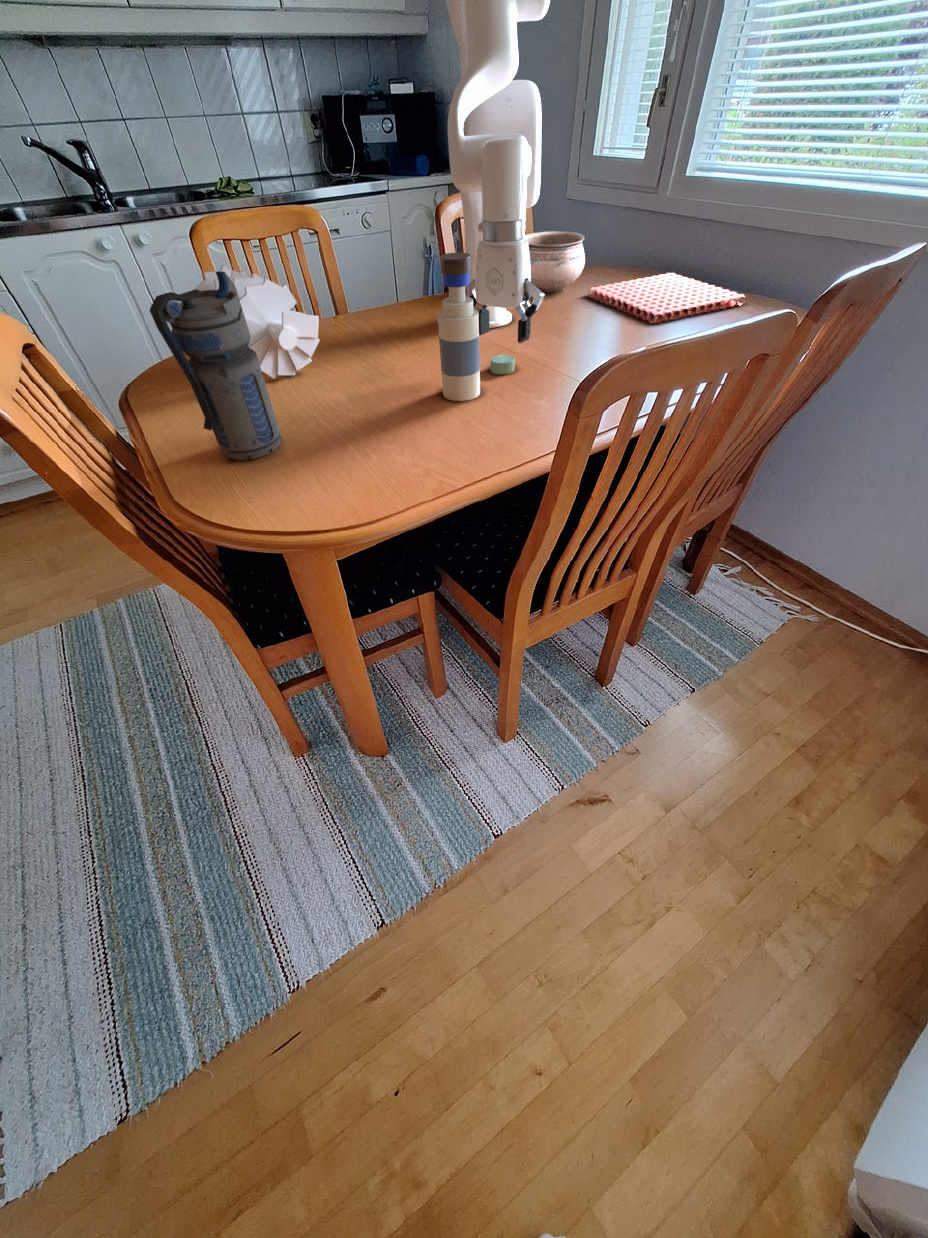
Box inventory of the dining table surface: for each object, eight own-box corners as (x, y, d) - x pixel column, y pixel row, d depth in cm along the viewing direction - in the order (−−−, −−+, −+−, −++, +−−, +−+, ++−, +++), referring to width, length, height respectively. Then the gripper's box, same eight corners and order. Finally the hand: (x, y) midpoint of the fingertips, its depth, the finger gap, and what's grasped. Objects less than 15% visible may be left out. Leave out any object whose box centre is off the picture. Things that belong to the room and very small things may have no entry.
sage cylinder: (486, 367, 111) (486, 356, 110) (508, 363, 112) (508, 352, 111) (496, 376, 108) (496, 364, 106) (518, 371, 109) (518, 360, 108)
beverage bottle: (198, 460, 88) (122, 289, 70) (259, 428, 96) (205, 266, 78) (237, 476, 84) (168, 298, 66) (298, 441, 92) (251, 273, 74)
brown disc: (436, 270, 89) (435, 254, 88) (464, 266, 90) (463, 250, 89) (447, 276, 86) (446, 260, 84) (475, 272, 87) (475, 256, 86)
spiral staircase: (284, 404, 112) (227, 369, 124) (339, 345, 114) (277, 317, 126) (223, 330, 96) (164, 299, 108) (288, 264, 98) (223, 240, 110)
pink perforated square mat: (587, 296, 144) (588, 287, 143) (669, 280, 152) (671, 271, 150) (654, 324, 126) (656, 314, 124) (744, 304, 133) (746, 295, 132)
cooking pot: (554, 275, 160) (557, 226, 152) (603, 286, 150) (609, 234, 141) (492, 293, 150) (492, 241, 141) (540, 306, 139) (544, 251, 130)
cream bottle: (437, 389, 104) (428, 269, 90) (471, 382, 106) (468, 263, 92) (450, 404, 100) (443, 279, 85) (486, 396, 101) (484, 272, 87)
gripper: (452, 232, 95) (457, 335, 107) (533, 238, 87) (529, 349, 99) (477, 225, 99) (479, 325, 111) (557, 231, 91) (550, 338, 103)
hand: (503, 337), depth 105 cm, fingers open, 9 cm apart
